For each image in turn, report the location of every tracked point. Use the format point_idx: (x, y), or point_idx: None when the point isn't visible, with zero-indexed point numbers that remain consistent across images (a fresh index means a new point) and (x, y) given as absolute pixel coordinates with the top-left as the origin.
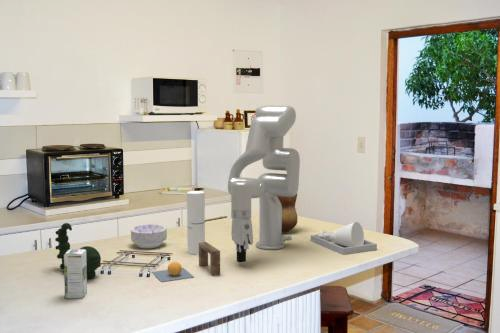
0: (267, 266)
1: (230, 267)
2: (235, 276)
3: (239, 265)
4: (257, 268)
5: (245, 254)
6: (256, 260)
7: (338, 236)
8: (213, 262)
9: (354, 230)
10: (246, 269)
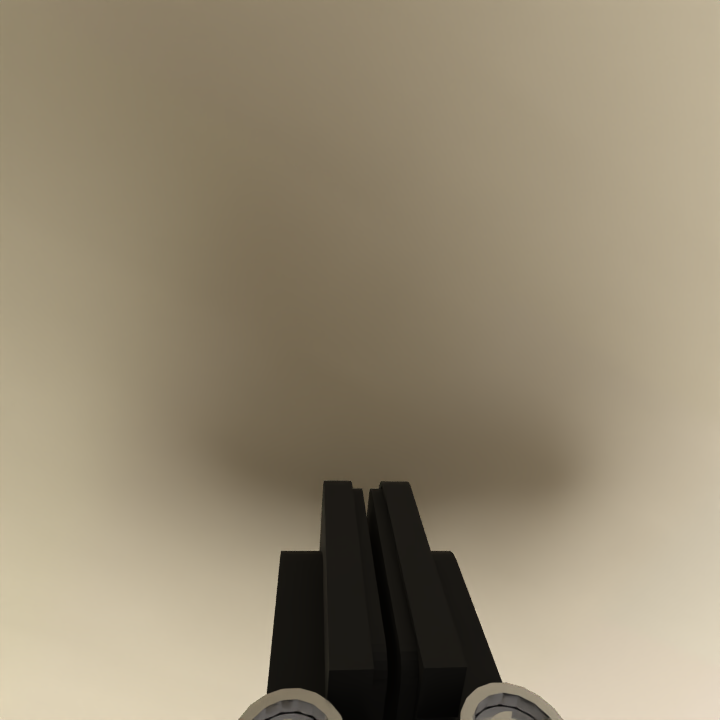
0: (680, 115)
1: None
2: (708, 712)
3: None
4: (647, 349)
5: (438, 597)
6: (185, 83)
7: None
8: None
9: None
10: (577, 514)
